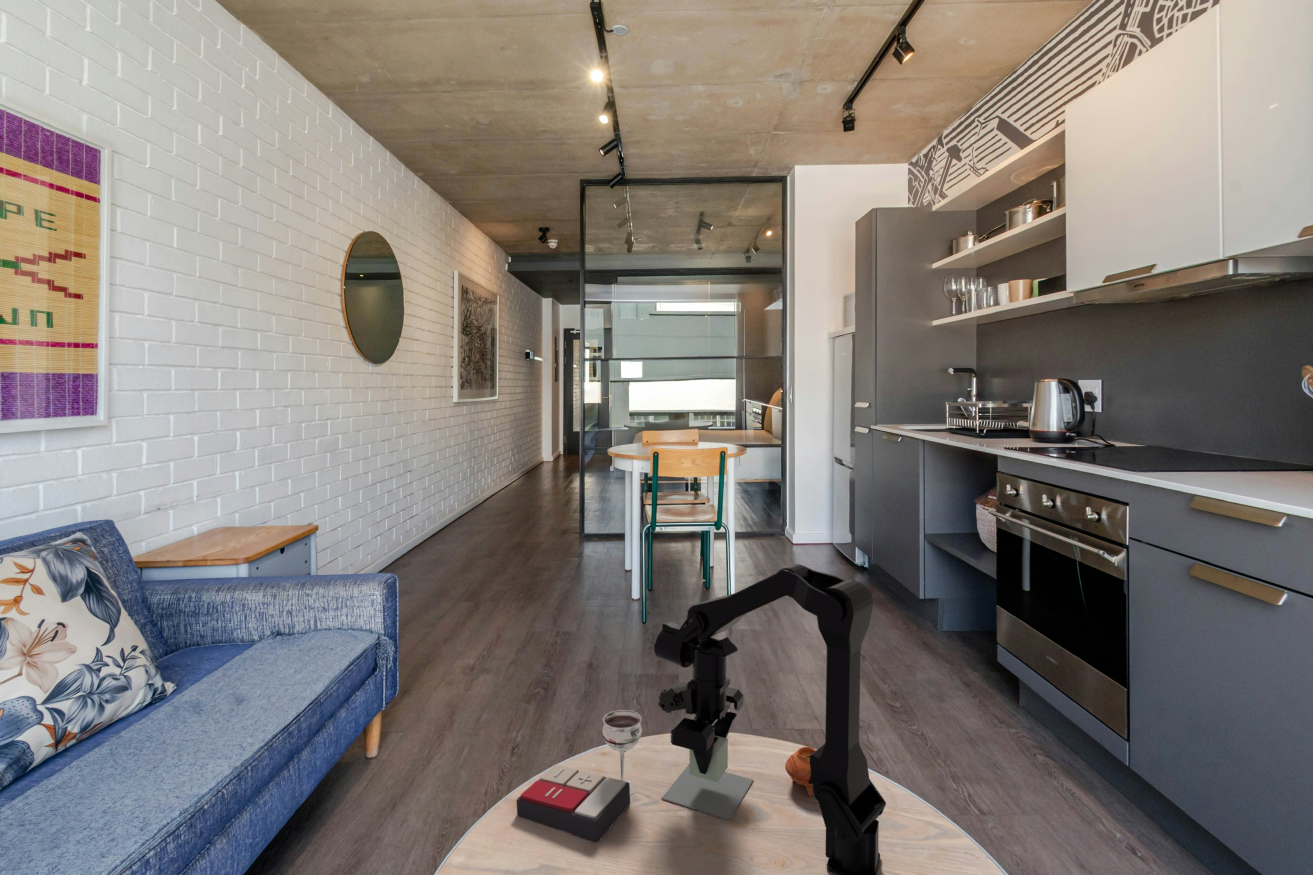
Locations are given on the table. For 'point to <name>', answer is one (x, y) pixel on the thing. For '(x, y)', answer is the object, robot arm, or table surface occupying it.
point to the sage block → (713, 762)
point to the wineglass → (622, 735)
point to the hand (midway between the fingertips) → (709, 765)
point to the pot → (800, 767)
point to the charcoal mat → (709, 793)
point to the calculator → (575, 802)
